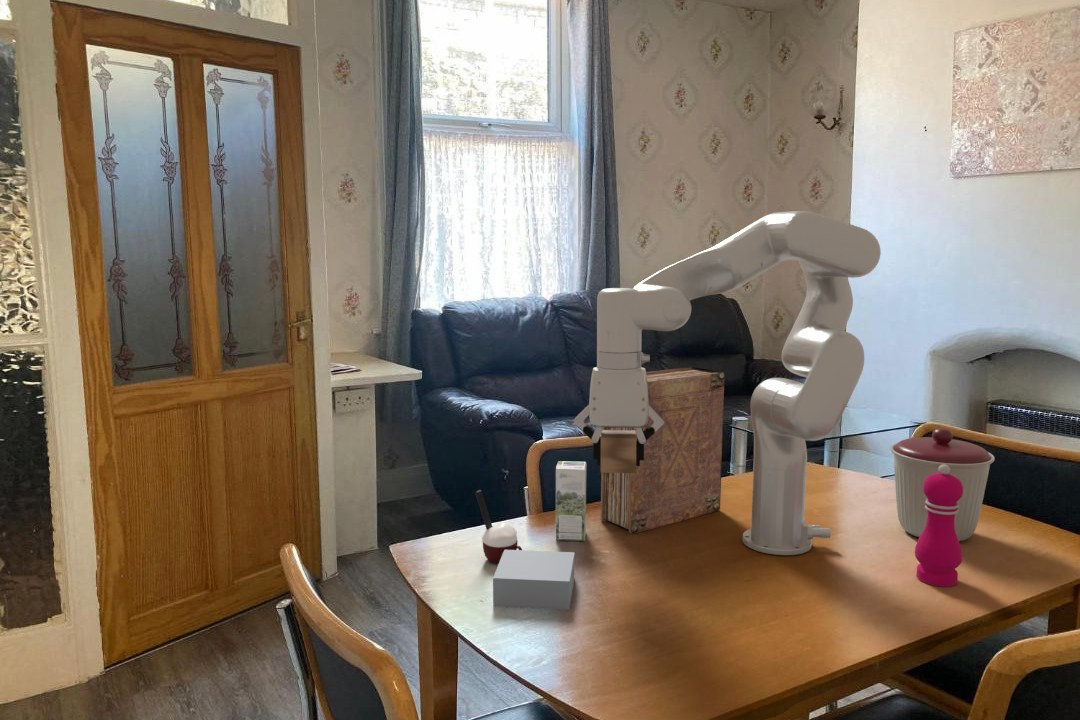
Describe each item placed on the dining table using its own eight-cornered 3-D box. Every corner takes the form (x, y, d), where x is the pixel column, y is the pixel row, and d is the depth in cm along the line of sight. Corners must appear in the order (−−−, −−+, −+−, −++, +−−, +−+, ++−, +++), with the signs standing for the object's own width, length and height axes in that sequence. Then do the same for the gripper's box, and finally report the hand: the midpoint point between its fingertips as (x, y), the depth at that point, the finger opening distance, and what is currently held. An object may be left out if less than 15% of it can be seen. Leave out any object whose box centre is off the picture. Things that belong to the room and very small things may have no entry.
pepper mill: (941, 591, 133) (950, 472, 130) (903, 575, 139) (911, 462, 136) (970, 583, 136) (978, 467, 133) (931, 568, 143) (939, 457, 140)
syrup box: (586, 531, 161) (586, 460, 159) (585, 542, 155) (585, 468, 153) (557, 530, 161) (557, 459, 159) (555, 541, 156) (555, 467, 154)
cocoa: (527, 565, 145) (530, 501, 143) (497, 572, 141) (500, 506, 139) (498, 547, 153) (501, 486, 151) (469, 553, 149) (472, 490, 147)
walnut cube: (635, 463, 144) (636, 430, 143) (636, 473, 138) (636, 438, 137) (601, 462, 144) (601, 430, 143) (600, 472, 138) (600, 438, 138)
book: (629, 534, 159) (631, 383, 155) (600, 521, 167) (601, 377, 163) (720, 510, 173) (725, 371, 169) (689, 499, 181) (693, 366, 177)
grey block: (574, 580, 138) (574, 552, 138) (569, 611, 127) (569, 581, 126) (504, 577, 140) (504, 549, 139) (493, 608, 128) (492, 578, 127)
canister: (886, 542, 155) (892, 434, 152) (884, 513, 171) (890, 415, 168) (994, 556, 148) (1003, 443, 145) (981, 524, 164) (989, 422, 161)
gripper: (669, 358, 141) (667, 459, 144) (570, 357, 143) (570, 457, 146) (671, 364, 134) (669, 471, 136) (566, 363, 136) (567, 468, 138)
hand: (618, 462), depth 141 cm, fingers closed on walnut cube, 6 cm apart
